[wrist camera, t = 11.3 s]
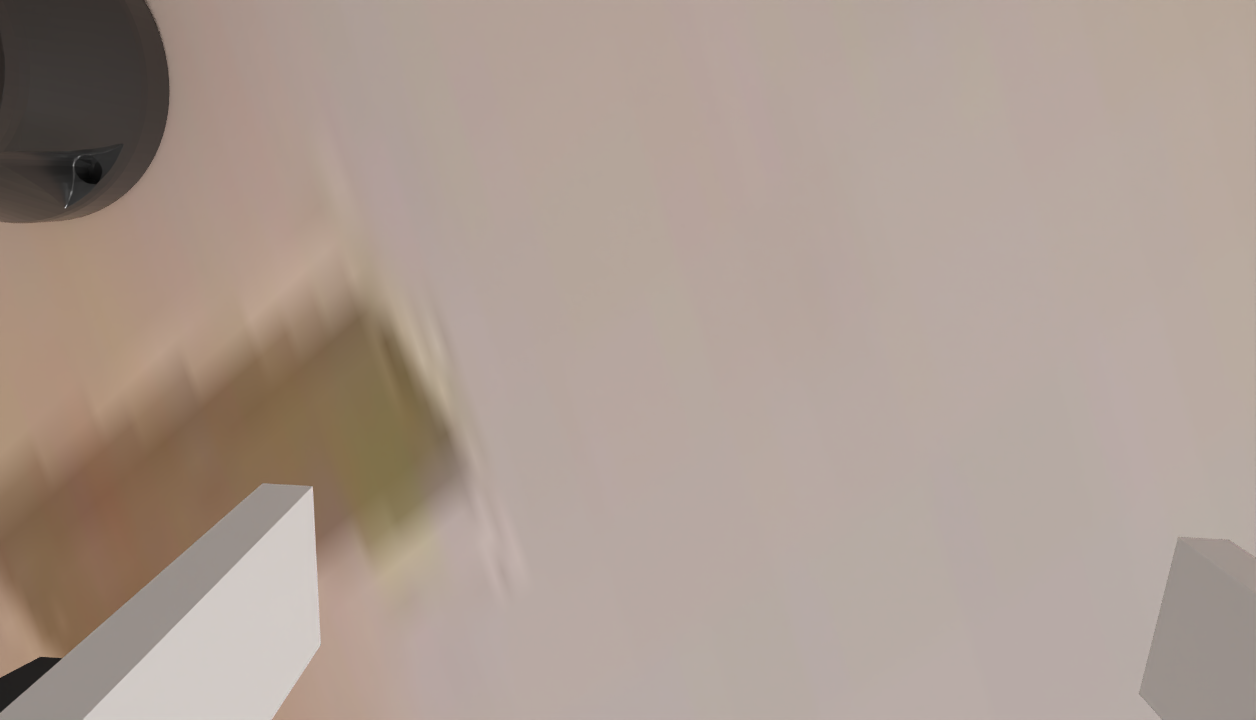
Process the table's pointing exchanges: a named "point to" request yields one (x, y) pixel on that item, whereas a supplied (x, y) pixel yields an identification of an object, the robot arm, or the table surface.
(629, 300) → the table surface
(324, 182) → the table surface
